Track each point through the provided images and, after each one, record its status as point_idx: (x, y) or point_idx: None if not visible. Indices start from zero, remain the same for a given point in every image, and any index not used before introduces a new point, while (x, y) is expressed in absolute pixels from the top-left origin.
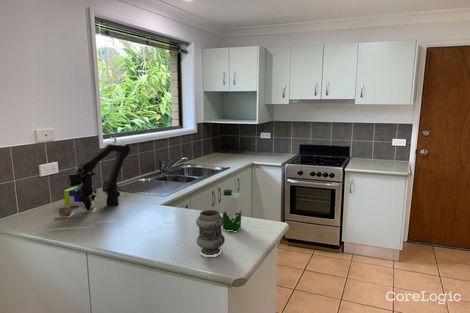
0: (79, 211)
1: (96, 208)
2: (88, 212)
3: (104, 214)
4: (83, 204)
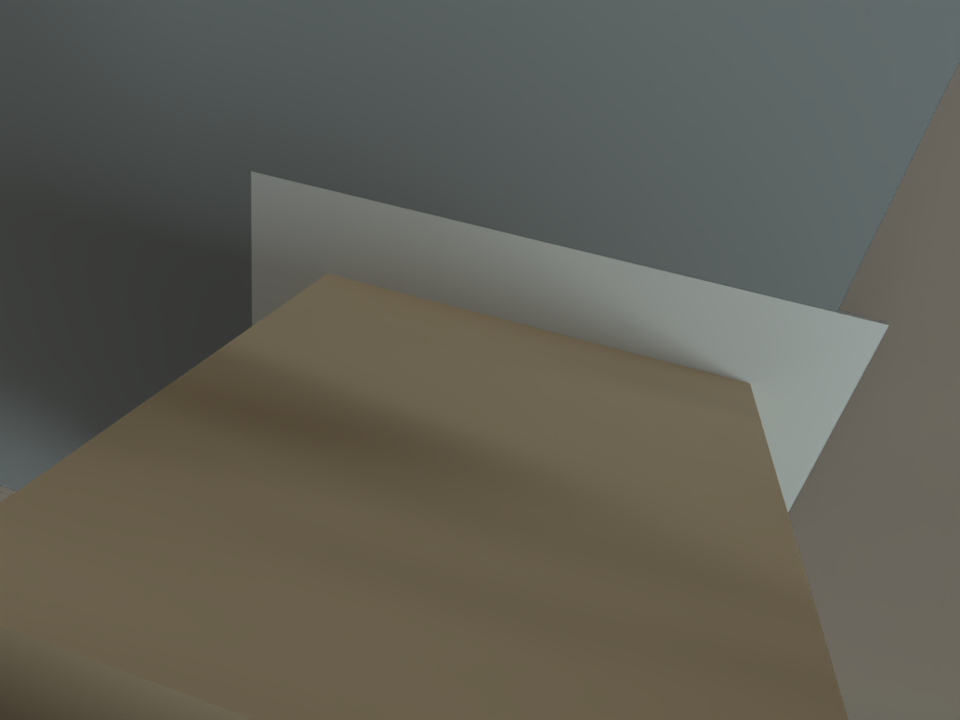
0: (420, 53)
1: None
2: None
3: None
4: (6, 527)
